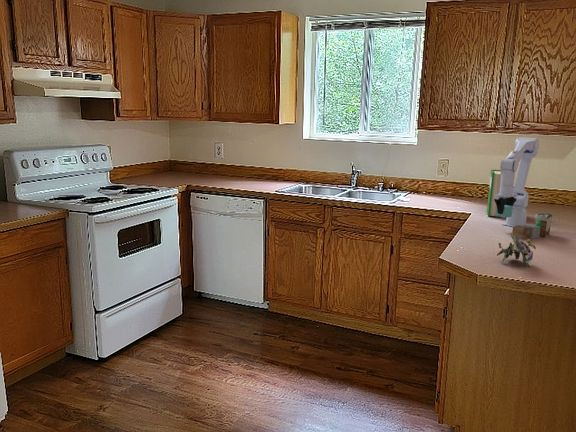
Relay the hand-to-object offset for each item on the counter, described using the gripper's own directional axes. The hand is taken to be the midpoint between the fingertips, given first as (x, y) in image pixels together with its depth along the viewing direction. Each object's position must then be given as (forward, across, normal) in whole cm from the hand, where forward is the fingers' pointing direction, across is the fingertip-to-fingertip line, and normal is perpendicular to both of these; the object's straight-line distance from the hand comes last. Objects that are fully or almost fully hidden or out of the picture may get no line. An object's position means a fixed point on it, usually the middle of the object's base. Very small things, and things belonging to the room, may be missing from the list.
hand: (503, 213), depth 242 cm
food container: (+9, +8, -14) cm, 18 cm away
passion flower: (+9, -45, -38) cm, 60 cm away
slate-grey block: (+8, +2, -14) cm, 16 cm away
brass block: (+8, -5, -13) cm, 16 cm away
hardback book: (+9, +32, +28) cm, 43 cm away
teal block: (+1, 0, 0) cm, 1 cm away
